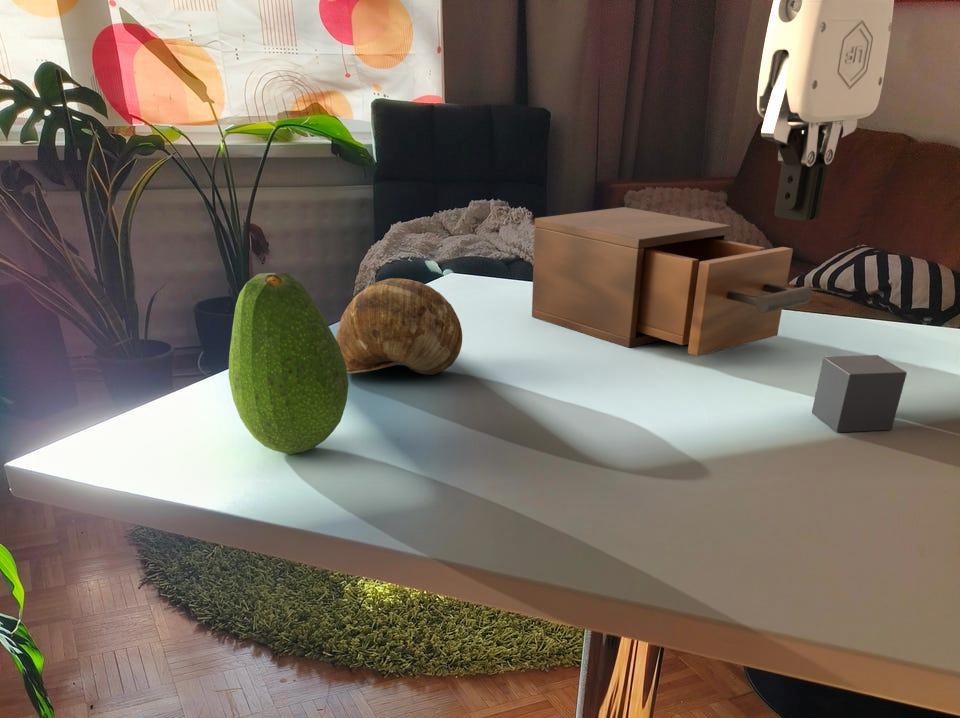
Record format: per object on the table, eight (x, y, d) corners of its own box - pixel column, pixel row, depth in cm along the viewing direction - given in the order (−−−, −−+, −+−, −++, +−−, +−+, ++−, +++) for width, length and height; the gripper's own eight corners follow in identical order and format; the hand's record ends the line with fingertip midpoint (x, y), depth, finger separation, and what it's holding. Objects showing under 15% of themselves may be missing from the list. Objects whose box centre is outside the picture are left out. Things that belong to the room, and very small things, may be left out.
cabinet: (716, 327, 91) (731, 225, 86) (628, 347, 85) (639, 239, 80) (616, 300, 101) (624, 207, 96) (531, 316, 95) (534, 218, 90)
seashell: (478, 366, 80) (479, 272, 76) (435, 398, 73) (432, 296, 69) (368, 352, 84) (361, 261, 79) (316, 381, 77) (306, 283, 72)
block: (863, 410, 71) (877, 354, 68) (891, 430, 67) (907, 372, 65) (811, 412, 70) (823, 356, 68) (836, 432, 67) (850, 374, 64)
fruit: (375, 440, 65) (363, 265, 58) (315, 480, 59) (294, 290, 52) (283, 423, 68) (262, 255, 61) (217, 460, 62) (185, 278, 55)
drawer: (819, 346, 82) (838, 256, 78) (738, 369, 77) (754, 273, 72) (672, 308, 94) (682, 228, 90) (593, 324, 89) (599, 240, 84)
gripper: (823, -73, 58) (775, 234, 68) (947, -62, 65) (888, 214, 75) (731, -62, 63) (700, 223, 73) (857, -52, 70) (812, 204, 80)
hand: (795, 217), depth 74 cm, fingers closed
